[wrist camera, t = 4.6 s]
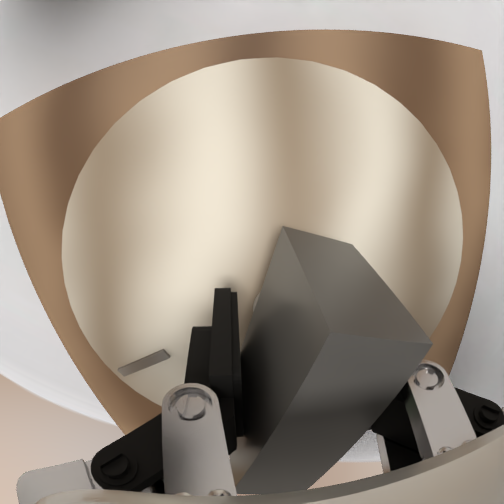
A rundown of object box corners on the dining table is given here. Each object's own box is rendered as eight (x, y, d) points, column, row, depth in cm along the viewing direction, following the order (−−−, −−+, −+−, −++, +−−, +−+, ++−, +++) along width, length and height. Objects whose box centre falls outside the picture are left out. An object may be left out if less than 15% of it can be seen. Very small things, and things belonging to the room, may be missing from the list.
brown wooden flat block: (445, 55, 11) (489, 49, 8) (428, 354, 19) (450, 387, 16) (22, 121, 11) (-22, 128, 8) (135, 406, 20) (126, 444, 16)
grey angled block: (277, 213, 10) (330, 331, 5) (340, 231, 11) (432, 343, 5) (209, 419, 15) (207, 522, 9) (252, 424, 15) (261, 524, 9)
